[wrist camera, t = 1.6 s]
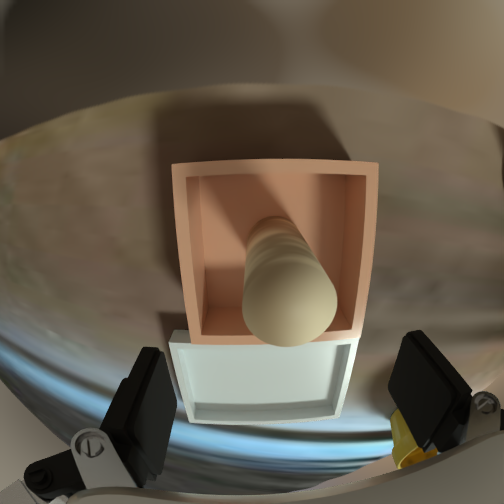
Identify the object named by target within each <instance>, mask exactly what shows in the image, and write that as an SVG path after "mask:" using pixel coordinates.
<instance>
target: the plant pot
mask: <svg viewBox="0 0 504 504" xmlns="http://www.w3.org/2000/svg"><path fill="white" fill-rule="evenodd" d="M390 423H391V429H392V435H393V442H394V447H393V449H392V455H393V459H394V462H395V464H396V466H397V468H398V469H402V468H405V467H408V466H410V465H413V464H416V463H418V462H421V461H424V460H426V459H429V458H431V457H433V456H436V455H437V452H438V450H437V448H435V449H433V450H431V451H428V452H426V453H424V452H423V450H422V448H419V447H418V446H417V444H416V442H415V440H414V438H413V436H412V434H411V432H410V430H409V428H408V426H407V424H406V422H405V420H404V418H403V417H402V415H401V413H400V411H399V409H398V408H397V409H396V410H395V411H394V413H393V414H392V416H391V418H390Z"/></svg>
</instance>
